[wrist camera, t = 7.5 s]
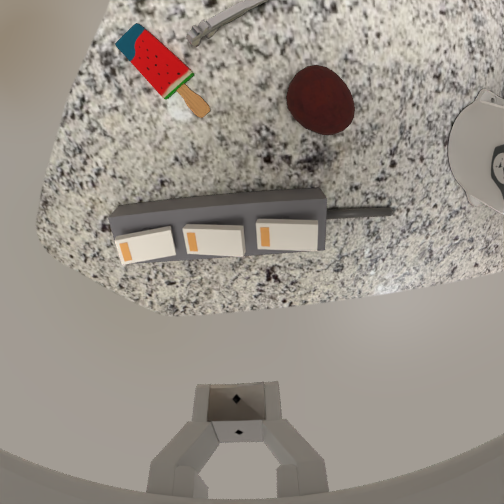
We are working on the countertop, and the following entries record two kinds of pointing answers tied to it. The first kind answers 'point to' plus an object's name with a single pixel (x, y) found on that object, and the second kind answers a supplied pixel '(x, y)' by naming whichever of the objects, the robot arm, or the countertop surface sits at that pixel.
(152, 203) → the power strip
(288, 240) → the rocker
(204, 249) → the rocker
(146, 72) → the popsicle
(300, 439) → the robot arm
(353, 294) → the countertop surface
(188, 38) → the caliper
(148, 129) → the countertop surface
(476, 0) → the countertop surface
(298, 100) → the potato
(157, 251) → the block
